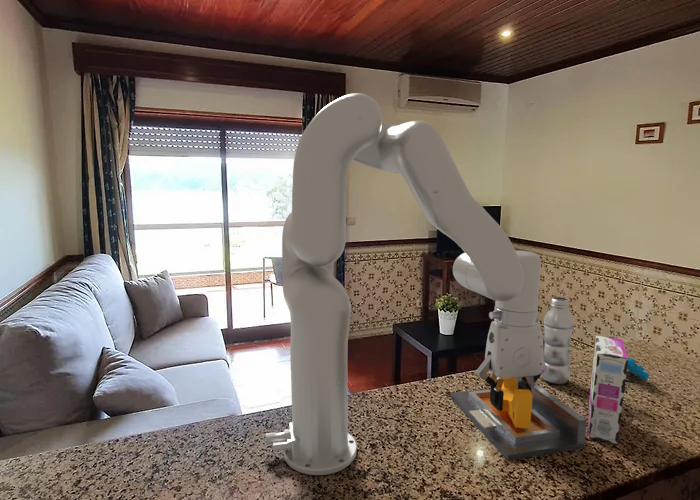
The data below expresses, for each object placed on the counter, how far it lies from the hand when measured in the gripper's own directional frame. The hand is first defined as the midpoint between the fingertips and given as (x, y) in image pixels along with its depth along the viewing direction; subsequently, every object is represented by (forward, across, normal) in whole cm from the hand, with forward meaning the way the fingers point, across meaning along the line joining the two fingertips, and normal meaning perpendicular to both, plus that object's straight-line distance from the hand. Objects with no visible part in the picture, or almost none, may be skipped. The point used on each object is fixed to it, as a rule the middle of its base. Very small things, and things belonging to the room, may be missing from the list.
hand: (510, 404), depth 84 cm
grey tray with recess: (+3, 0, 0) cm, 3 cm away
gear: (+3, +38, +11) cm, 40 cm away
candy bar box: (+3, +16, -6) cm, 18 cm away
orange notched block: (+1, 0, 0) cm, 1 cm away
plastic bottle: (+3, +20, +13) cm, 24 cm away
